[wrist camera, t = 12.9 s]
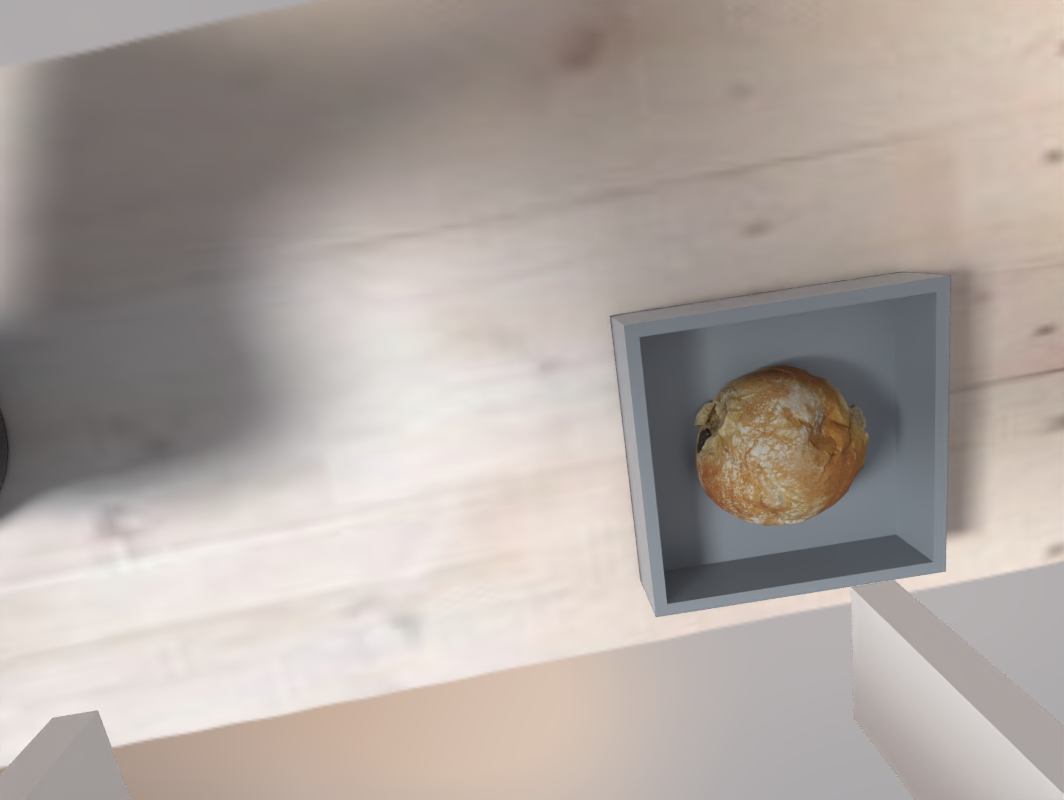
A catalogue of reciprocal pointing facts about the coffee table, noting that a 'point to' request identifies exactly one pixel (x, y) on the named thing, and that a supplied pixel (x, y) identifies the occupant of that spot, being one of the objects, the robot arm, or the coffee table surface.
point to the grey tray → (862, 379)
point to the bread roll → (779, 446)
